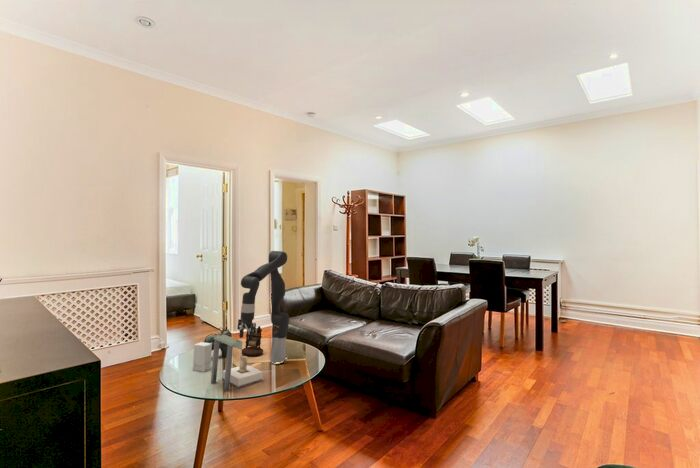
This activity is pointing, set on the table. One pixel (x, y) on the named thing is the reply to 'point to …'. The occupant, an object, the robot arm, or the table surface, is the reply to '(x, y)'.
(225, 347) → the ceramic cat
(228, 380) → the twin post stand
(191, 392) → the table surface
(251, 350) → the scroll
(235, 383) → the socket block
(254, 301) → the robot arm
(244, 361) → the peg
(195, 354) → the skincare box
